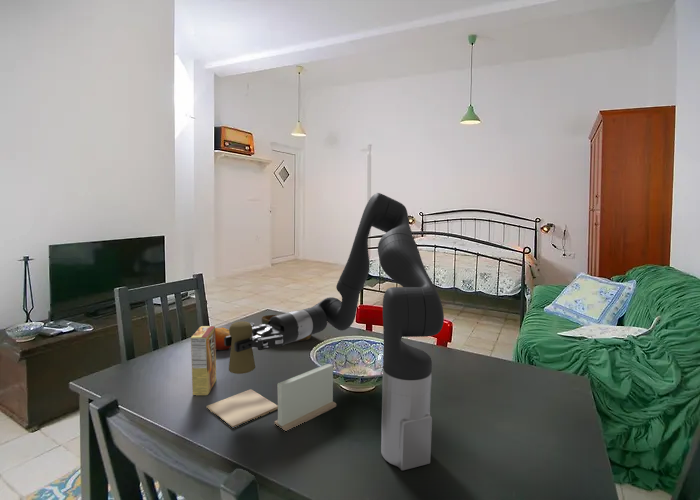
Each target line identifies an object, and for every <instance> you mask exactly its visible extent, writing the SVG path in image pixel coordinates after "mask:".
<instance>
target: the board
mask: <svg viewBox="0 0 700 500" xmlns="http://www.w3.org/2000/svg"><path fill="white" fill-rule="evenodd" d="M207 408H208V409H209V410H210V411H209V410H208V409H207ZM206 409H207V410H208V411H209V412H211V413H212V412H213V413H214V414H216V415H217V416H219V417H220V418H221V419H222V420H224V421H225V422H226V423H228V424H229V425H230V426H231V427H235V426H238V425H240V424H242V423H245V422H247V421H250V420H252V419H254V420H256V419H259V418H261V417H264V416H265V415H267V414H270V413H272V412H274V411H276V410H278V404H276V403H274V402H273V401H271V400H270V399H267V398H266V397H264V396H262V395H261V394H260V393H258V392H256V391H254V390H253V389H251V388H250V389H248V390H245V391H242V392H239V393H237V394H234V395H232V396H229V397H226V398H224V399H221V400H218V401H216V402H213V403H211V404H207V405H206ZM269 412H270V413H269ZM213 413H212V414H213ZM214 414H213V415H214ZM216 415H215V416H216ZM217 416H216V417H217ZM260 416H261V417H260ZM258 417H259V418H258ZM255 418H256V419H255ZM221 419H220V420H221ZM222 420H221V421H222ZM252 421H253V420H252ZM225 422H224V423H225ZM250 422H251V421H250ZM226 423H225V424H226ZM247 423H248V422H247ZM245 424H246V423H245ZM230 426H229V427H230ZM231 427H230V428H231ZM238 427H239V426H238Z"/></svg>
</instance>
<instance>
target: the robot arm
mask: <svg viewBox="0 0 700 500" xmlns="http://www.w3.org/2000/svg"><path fill="white" fill-rule="evenodd" d="M360 218H361V219H360V221H359V225H358V227H357V231H356V232H355V237H354V240H353V243H352V246H351V249H350V252H349V255H348V259H347V260H346V261H347V262H346V263H345V266H344V267H343V270H342V272H341V274H340V276H339V279H338V281H337V284H336V288H335V289H336V290H337V292H338V293H339V294H340V296H341V300H340V299H338V298H336V297H334V296H333V297H332V296H331V297H330V296H329V297H326V298H323V299H322V300H321V301H319V302H318V303H316V304H314V305H313V306H311V307H308V308H305V309H304V308H303V309H300V310H297V309H296V310H292V311H288V312H284V313H281V314H275V315H276V316H273V317H272V318H271V319H270V320H269V322H268V324H267V325H266V324H262V323H261V324H259V325H256V326H255V323H254V322H249V323H250V324H251V325H252V334H251V336H250V338H251V340H250V338H248V339H245V340H241V341H237V342H235V344H234V349H235V351H236V352H240V351H243V350H246V349H249V348H251V349H252V350H255V349H257V350H258V351H263V350H269V349H274V348H275V349H276V348H281V347H284V345H287V344H290V343H295V342H294V341H297V340H300V339H303V338H305V337H306V336H309V335H311V336H313V335H315V334H317V333H321V332H323V331H324V330H325V329H326V328H327V325H328V324H330V325H331V326H332V327H334V328H335V329H336V330H338V331H346V330H347V329H349V328H350V327H351V326H352V324H354V321H355V319H356V315H357V310H358V309H357V308H358V304H359V300H360V299H359V298H360V294H361V292H362V291H363V290H362V289H363V287H364V286H365V283H366V281H367V280H368V279H367V278H368V276H369V274H370V267H371V266H370V255H369V235H370V231H371V229H372V227H373V228H375V229H377V230H380V231H382V232H384V234H383V235H382V236H381V237H380V240H379V241H378V243H377V253H378V259H379V264H380V267H381V268H382V270H383V273H385V275H387V277H389V278H390V280H391V279H392V280H393V281H394V282H395V283H397V284H398V285H400V286H399V287H398V286H396V287H395V286H394V287H388V288H387V289H386V290H385V291H384V295H383V298H382V299H383V300H382V327H383V330H382V331H383V334H382V335H383V348H382V349H383V350H382V351H383V359H382V360H383V361H382V387H381V389H382V392H381V393H382V395H381V397H382V399H381V440H380V441H381V443H380V444H381V445H380V453H381V456H382V457H383V459H384V460H385V461H386V462H388V463H389V464H391V465H393V466H395V467H398V468H399V469H400V471H406V470H407V471H408V470H410V469H414V468H417V467H421V466H426V465H429V464H431V455H432V454H431V452H432V427H433V426H432V425H433V418H432V416H431V395H432V394H431V393H432V391H431V390H432V372H433V371H432V369H433V368H432V367H433V362H432V361H433V360H432V357H431V356H430V354H429V353H427V352H426V351H424V350H422V349H420V348H416V347H415V346H411V345H410V344H407V343H405V342H404V341H403V340H402V338H413V337H414V338H418V337H419V338H420V337H422V338H423V337H424V338H425V337H433V336H436V335H438V334H439V333H441V331H442V329H443V327H444V321H445V320H444V319H445V315H444V313H445V312H444V307H443V303H442V300H441V298H440V295H439V292H438V290H437V289H436V287H435V285H434V283H433V281H432V279H431V277H430V275H429V273H428V272H427V271H426V268H425V266H424V263H423V261H422V260H423V259H422V258H421V254H420V250H419V247H418V245H417V243H416V241H415V238H414V236H413V232H412V229H411V226H410V220H409V214H408V210H407V208H406V206H405V205H404V204H403V203H402V202H400V201H397V200H396V199H394V198H391V197H389V196H387V195H385V194H384V193H381V192H376V193H373V194H372V196H371V197H369V200H368V202H367V203H366V205H365V207H364V210H363V212H362V215H361V217H360ZM231 342H232V337H231V336H226V337H225V338H224V345H225V346H227V347H228V346H231Z"/></svg>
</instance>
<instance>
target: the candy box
mask: <svg viewBox="0 0 700 500" xmlns="http://www.w3.org/2000/svg"><path fill="white" fill-rule="evenodd" d="M215 328H216V326H214V325H213V326H211V325H202V326H199V327H198V329H197V330H196V331H195V333H193V334H192V335H191V337H190V347H191V351H190V352H191V380H192V381H191V383H192V387H191V388H192V389H191V390H192V396H193V395H196V396H208V395H209V394H210V392H211V391H212V388H213V387H214V385H215V383H216V381H217V350H216V337H215Z"/></svg>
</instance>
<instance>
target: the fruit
mask: <svg viewBox="0 0 700 500" xmlns="http://www.w3.org/2000/svg"><path fill="white" fill-rule="evenodd" d="M226 336H230V333H229V328H225V327H215V337H216V351H228V350H231V346H228V347H227V346H225V345H224V338H225V337H226Z"/></svg>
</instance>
